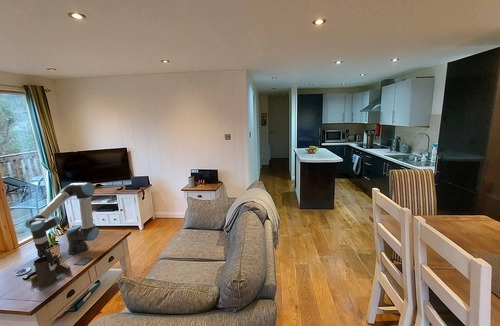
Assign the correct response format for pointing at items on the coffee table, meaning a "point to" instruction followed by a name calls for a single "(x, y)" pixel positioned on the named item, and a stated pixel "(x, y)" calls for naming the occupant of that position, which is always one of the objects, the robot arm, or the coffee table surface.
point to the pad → (59, 277)
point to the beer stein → (46, 271)
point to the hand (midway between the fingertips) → (48, 267)
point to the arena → (62, 268)
